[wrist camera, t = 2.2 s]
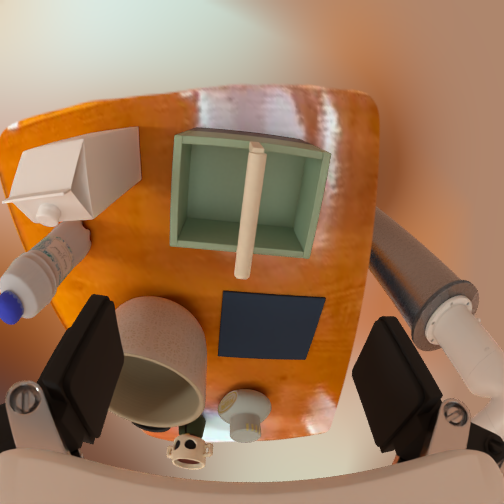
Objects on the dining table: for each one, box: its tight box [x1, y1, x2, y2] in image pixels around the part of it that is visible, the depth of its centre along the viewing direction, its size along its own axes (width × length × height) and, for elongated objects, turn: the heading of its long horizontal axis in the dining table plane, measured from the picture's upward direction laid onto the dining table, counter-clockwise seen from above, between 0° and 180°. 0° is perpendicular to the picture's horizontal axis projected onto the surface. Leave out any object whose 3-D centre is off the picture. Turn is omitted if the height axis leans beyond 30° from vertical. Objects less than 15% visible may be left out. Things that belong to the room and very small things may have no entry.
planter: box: [108, 296, 207, 427], centre depth 40 cm, size 17×17×15 cm
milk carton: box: [2, 127, 142, 227], centre depth 26 cm, size 7×7×19 cm
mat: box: [218, 291, 326, 360], centre depth 48 cm, size 16×14×1 cm
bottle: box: [0, 220, 91, 324], centre depth 30 cm, size 7×7×20 cm
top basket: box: [170, 130, 331, 279], centre depth 25 cm, size 13×10×12 cm
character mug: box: [167, 415, 213, 470], centre depth 54 cm, size 11×7×13 cm, turn 106°
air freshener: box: [218, 389, 271, 443], centre depth 52 cm, size 11×8×10 cm
